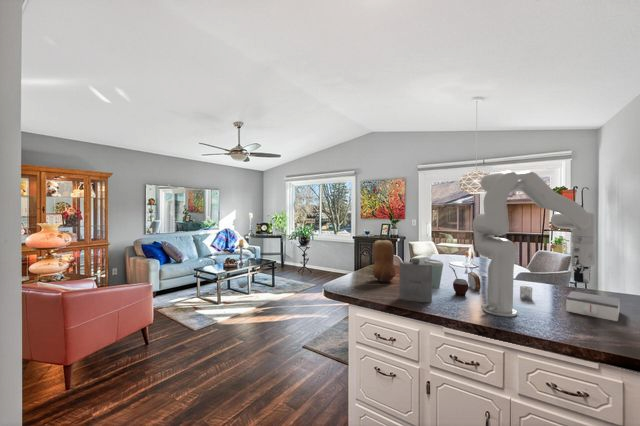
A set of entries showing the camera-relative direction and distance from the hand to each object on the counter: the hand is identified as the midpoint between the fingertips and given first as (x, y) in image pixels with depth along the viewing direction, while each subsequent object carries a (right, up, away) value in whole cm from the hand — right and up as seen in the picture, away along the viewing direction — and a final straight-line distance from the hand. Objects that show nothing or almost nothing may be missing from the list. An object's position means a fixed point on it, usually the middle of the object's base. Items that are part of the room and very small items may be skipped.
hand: (581, 280), depth 133 cm
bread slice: (-31, -12, +33) cm, 47 cm away
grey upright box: (-70, -12, +11) cm, 72 cm away
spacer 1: (-15, -12, +14) cm, 24 cm away
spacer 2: (0, -1, 0) cm, 1 cm away
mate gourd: (-45, -12, +19) cm, 51 cm away
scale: (+2, -13, -3) cm, 13 cm away
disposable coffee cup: (-52, -12, +36) cm, 65 cm away
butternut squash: (-78, -11, +47) cm, 92 cm away
